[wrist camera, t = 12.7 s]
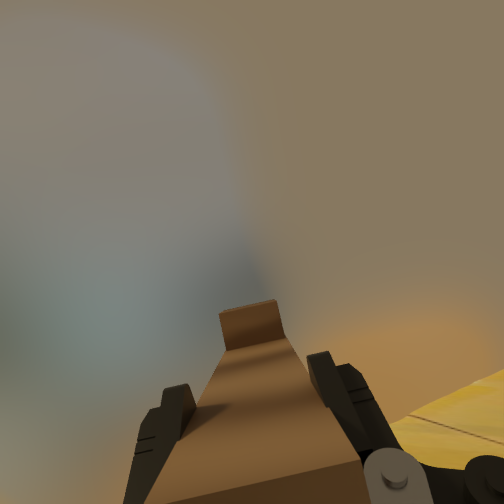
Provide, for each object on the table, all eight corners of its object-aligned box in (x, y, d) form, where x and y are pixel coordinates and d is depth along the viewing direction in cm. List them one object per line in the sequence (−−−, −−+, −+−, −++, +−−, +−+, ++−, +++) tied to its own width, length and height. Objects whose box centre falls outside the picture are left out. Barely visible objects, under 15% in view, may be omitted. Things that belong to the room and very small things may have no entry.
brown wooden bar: (397, 611, 6) (328, 325, 7) (167, 662, 6) (116, 372, 7) (289, 363, 27) (274, 298, 28) (237, 374, 27) (223, 310, 28)
